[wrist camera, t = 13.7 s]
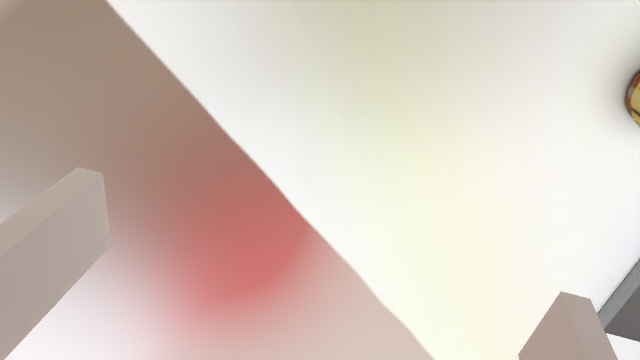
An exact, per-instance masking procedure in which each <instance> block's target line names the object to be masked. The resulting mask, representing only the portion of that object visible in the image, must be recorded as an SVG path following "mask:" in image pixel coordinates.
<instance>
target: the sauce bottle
mask: <svg viewBox="0 0 640 360" xmlns="http://www.w3.org/2000/svg"><path fill="white" fill-rule="evenodd" d="M626 107H627V109H628V112H629V113H630V115H631V116H632V117H633V118H634V120H635V122H636V123H637V125H638V126H639V127H640V73H639V74H638V75H637V76H636V77H635V78H634V80H633V82H632V84H631V85H630V88H629V91H628V94H627V99H626Z"/></svg>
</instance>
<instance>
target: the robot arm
mask: <svg viewBox="0 0 640 360" xmlns="http://www.w3.org/2000/svg"><path fill="white" fill-rule="evenodd" d="M110 246H111V240H110V232H109V223H108V215H107V206H106V198H105V190H104V181H103V174H102V173H99V172H95V171H92V170H87V169H83V168H80V167H77V168H76V169H74V170H73V171H72V172H70V173H69V174H68V175H66V176H65V177H64V178H62V179H61V180H60V181H58V182H57V183H55V184H54V185H53V186H51V187H50V188H49V189H47V190H46V191H45V192H43V193H42V194H40V195H39V196H38V197H37V198H35V199H34V200H32V201H31V202H30V203H28V204H27V205H25V206H24V207H23V208H21V209H20V210H19V211H17V212H16V213H15V214H13V215H12V216H10V217H9V218H8V219H6V220H5V221H4V222H3V223H1V224H0V360H4V359H5V358H6V357H7V356H8V355H9V354H10V353H11V352H12V350H13V349H14V348H15V347H16V346H17V345H18V344H19V343H20V342H21V341H22V340H23V339H24V338H25V337H26V335H27V334H28V333H29V332H30V331H31V330H32V329H33V328H34V327H35V326H36V325H37V324H38V323H39V322H40V321H41V319H42V318H43V317H44V316H45V315H46V314H47V313H48V312H49V311H50V310H51V309H52V308H53V307H54V306H55V304H56V303H57V302H58V301H59V300H60V299H61V298H62V297H63V296H64V295H65V294H66V293H67V291H69V289H70V288H71V287H72V286H73V285H74V284H75V283H76V282H77V281H78V280H79V279H80V278H81V277H82V276H83V274H84V273H85V272H86V271H87V270H88V269H89V268H90V267H91V266H92V265H93V264H94V263H95V262H96V261H97V259H98V258H99V257H100V256H101V255H102V254H103V253H104V252H105V251H106V250H107V249H108V248H109V247H110ZM518 356H519V360H618V359H617V357H616V355H615V353H614V350H613V348H612V346H611V344H610V342H609V340H608V337H607V335H606V333H605V331H604V329H603V326H602V324H601V322H600V320H599V318H598V316H597V313H596V311H595V309H594V307H593V305H592V302H591V300H590V299H588V298H584V297H580V296H577V295H573V294H569V293H565V292H560V294H559V295H558V297H557V298H556V300H555V301H554V302H553V304H552V305H551V307H550V308H549V310H548V311H547V313H546V314H545V316H544V317H543V319H542V320H541V322H540V323H539V325H538V326H537V328H536V329H535V331H534V332H533V334H532V335H531V337H530V338H529V339H528V341H527V342H526V344H525V345H524V347H523V348H522V350H521V351H520V353H519V354H518Z"/></svg>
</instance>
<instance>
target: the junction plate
mask: <svg viewBox="0 0 640 360" xmlns="http://www.w3.org/2000/svg"><path fill="white" fill-rule="evenodd" d="M597 316H598V318H599V320H600V322H601V324H602V326H603V329H604V331H605V333H609V334H612V335H616V336H620V337H624V338H628V339H632V340H635V341H639V342H640V260H639V261H638V262H637V264H636V265H635V266H634V268H633V269H632V270H631V271H630V273H629V274H628V275H627V277H626V278H625V279H624V281H623V282H622V283H621V284H620V286H619V287H618V288H617V290H616V291H615V292H614V293H613V295H612V296H611V297H610V299H609V300H608V301H607V303H606V304H605V305H604V306H603V308H602V309H601V310H600V312H599V313H598V314H597Z"/></svg>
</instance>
